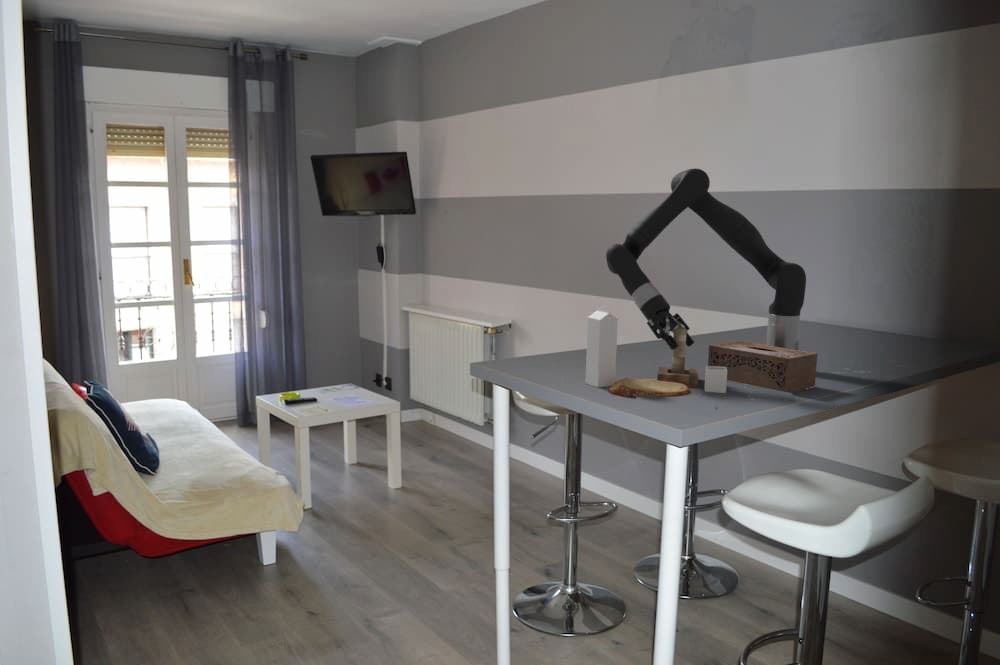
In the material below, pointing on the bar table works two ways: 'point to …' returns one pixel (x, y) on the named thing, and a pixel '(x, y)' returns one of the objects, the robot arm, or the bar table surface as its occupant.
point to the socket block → (679, 376)
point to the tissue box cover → (765, 365)
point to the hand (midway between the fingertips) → (683, 346)
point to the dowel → (679, 351)
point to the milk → (601, 348)
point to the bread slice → (647, 388)
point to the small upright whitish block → (715, 379)
